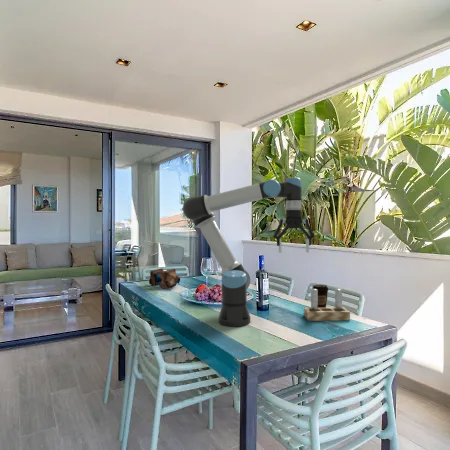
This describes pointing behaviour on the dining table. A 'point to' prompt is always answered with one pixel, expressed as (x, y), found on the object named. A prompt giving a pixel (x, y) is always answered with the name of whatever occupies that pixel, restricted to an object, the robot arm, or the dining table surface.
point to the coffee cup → (321, 295)
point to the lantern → (164, 278)
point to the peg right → (338, 299)
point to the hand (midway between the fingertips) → (293, 252)
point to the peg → (314, 299)
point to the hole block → (326, 314)
